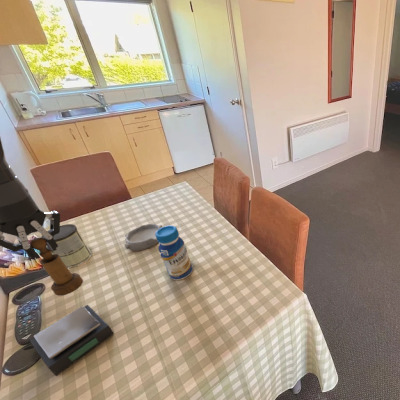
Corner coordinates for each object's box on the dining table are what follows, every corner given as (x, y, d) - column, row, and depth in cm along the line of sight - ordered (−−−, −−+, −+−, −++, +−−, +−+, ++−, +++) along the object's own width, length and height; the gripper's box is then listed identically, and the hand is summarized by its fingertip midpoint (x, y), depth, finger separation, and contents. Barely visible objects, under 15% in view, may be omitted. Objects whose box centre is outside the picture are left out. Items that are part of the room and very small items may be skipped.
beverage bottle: (185, 261, 107) (171, 221, 97) (198, 270, 102) (184, 228, 92) (165, 274, 101) (147, 232, 91) (177, 284, 96) (159, 241, 86)
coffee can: (53, 267, 105) (33, 239, 98) (77, 250, 114) (60, 223, 107) (75, 269, 104) (57, 241, 96) (98, 252, 112) (82, 224, 105)
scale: (56, 377, 70) (47, 367, 67) (37, 348, 77) (27, 338, 74) (114, 334, 80) (108, 324, 78) (93, 312, 87) (86, 302, 84)
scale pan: (50, 359, 69) (49, 357, 69) (34, 337, 74) (33, 335, 74) (100, 324, 78) (99, 323, 77) (83, 307, 83) (82, 305, 82)
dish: (165, 229, 126) (162, 220, 123) (160, 247, 114) (156, 238, 112) (131, 235, 122) (127, 227, 119) (122, 255, 110) (117, 246, 108)
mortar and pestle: (59, 282, 80) (25, 235, 71) (86, 275, 82) (56, 228, 73) (51, 299, 75) (13, 250, 65) (79, 291, 77) (46, 243, 68)
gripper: (39, 183, 70) (70, 235, 79) (-43, 207, 59) (5, 264, 68) (50, 189, 66) (82, 243, 75) (-34, 217, 56) (15, 275, 65)
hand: (45, 253), depth 72 cm, fingers closed on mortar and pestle, 3 cm apart
